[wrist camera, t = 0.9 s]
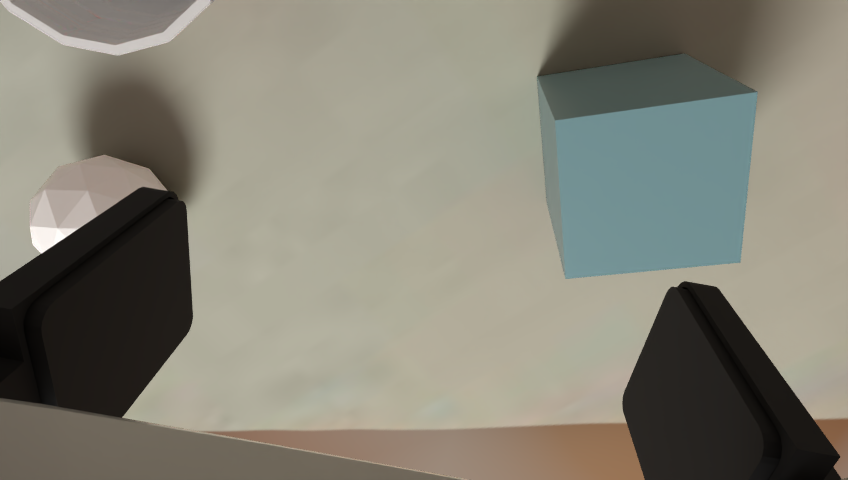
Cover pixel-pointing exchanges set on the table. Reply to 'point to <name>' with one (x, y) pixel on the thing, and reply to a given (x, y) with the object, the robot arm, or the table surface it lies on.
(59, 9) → the plastic cup
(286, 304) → the table surface
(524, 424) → the table surface
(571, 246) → the matte blue-grey box
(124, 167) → the geometric ball
